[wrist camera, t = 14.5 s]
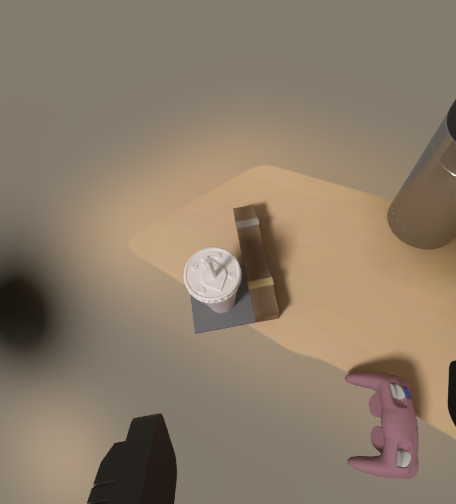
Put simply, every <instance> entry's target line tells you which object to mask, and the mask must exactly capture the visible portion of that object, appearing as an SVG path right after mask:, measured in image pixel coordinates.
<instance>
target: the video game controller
mask: <svg viewBox="0 0 456 504" xmlns="http://www.w3.org/2000/svg"><path fill="white" fill-rule="evenodd" d="M345 380H346V381H347V382H348V383H351V384H354V385H357V386H361V387H366V388H370V389H373V390H376V391H377V393H376V394H375V395H374V396H372V397H371V398H370V400H369V408H370V411H371V413H372V415H374V416H375V417H381V424H382V427H378V426H377V427H374V428H373V430H372V432H371V441H372V444H373V446H374V447H375V448H376V449H377V450H378V451H379V452H380V453H381V455H380V456H374V457H367V456H356V457H351V458H349V459H348V464H349V465H350V466H351V467H353V468H354V469H357V470H359V471H362V472H366V473H369V474H372V475H376V476H381V477H390V478H403V479H404V478H405V479H406V478H407V479H410V478H413V477H414V476H415V475H416V473H417V470H418V458H417V454H418V426H417V420H416V415H415V410H414V406H413V403H412V400H411V399H412V393H411V389H410V386H409V384H408V383H407V382H406V381H405V380H404V379H402V378H400V377H396V376H393V375H389V374H384V373H374V372H372V373H352V374H348V375H347V376H345Z"/></svg>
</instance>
